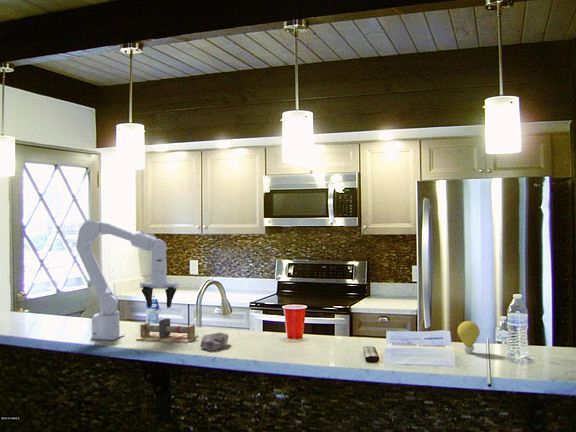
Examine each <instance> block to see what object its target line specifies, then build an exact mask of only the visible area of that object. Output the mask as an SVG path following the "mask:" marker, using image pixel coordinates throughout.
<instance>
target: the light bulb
mask: <svg viewBox="0 0 576 432" xmlns="http://www.w3.org/2000/svg"><path fill="white" fill-rule="evenodd" d="M457 334H458V337H459V339H460V340H461V343H463V350H464V354H469V355H470V354H473V353H474V352H473V351H474V350H475V346H474V345H475V343H476V341H477V340H478V338H479V337H480V327H478V325H477V324H476V323H475V322H473V321H470V320H466V321H463V322H461V323H460V324H459V325H458V327H457Z"/></svg>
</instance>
